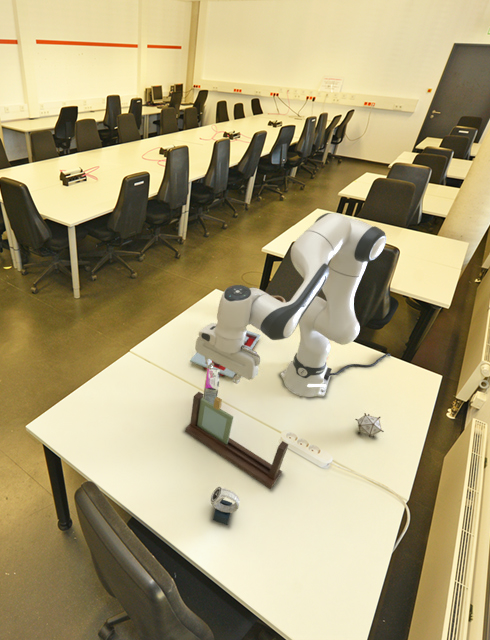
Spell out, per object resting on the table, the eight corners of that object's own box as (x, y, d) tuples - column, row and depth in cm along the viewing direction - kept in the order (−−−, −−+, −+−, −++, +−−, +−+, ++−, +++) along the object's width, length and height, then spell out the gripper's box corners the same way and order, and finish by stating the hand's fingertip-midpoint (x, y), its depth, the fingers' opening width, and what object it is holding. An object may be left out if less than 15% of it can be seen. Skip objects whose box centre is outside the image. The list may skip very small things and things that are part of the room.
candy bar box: (202, 398, 155) (207, 367, 145) (215, 400, 154) (220, 369, 144) (200, 419, 146) (204, 387, 136) (213, 421, 145) (218, 389, 136)
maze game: (221, 327, 195) (222, 322, 193) (259, 340, 187) (260, 335, 185) (189, 365, 171) (190, 360, 169) (231, 382, 163) (232, 376, 161)
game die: (364, 436, 146) (387, 420, 142) (370, 448, 138) (394, 430, 134) (346, 420, 146) (368, 403, 143) (350, 430, 138) (373, 412, 135)
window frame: (196, 420, 145) (201, 387, 135) (280, 474, 128) (293, 441, 118) (185, 431, 141) (188, 398, 131) (270, 489, 123) (282, 455, 113)
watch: (210, 501, 119) (215, 480, 113) (236, 510, 117) (242, 489, 111) (206, 517, 115) (210, 497, 109) (233, 527, 113) (239, 507, 107)
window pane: (198, 424, 141) (203, 388, 130) (228, 443, 134) (236, 407, 124) (196, 427, 140) (201, 391, 130) (225, 446, 134) (233, 410, 123)
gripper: (267, 349, 109) (257, 385, 117) (206, 321, 120) (201, 356, 128) (255, 360, 105) (247, 396, 113) (194, 329, 116) (190, 365, 124)
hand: (222, 374), depth 120 cm, fingers open, 8 cm apart
